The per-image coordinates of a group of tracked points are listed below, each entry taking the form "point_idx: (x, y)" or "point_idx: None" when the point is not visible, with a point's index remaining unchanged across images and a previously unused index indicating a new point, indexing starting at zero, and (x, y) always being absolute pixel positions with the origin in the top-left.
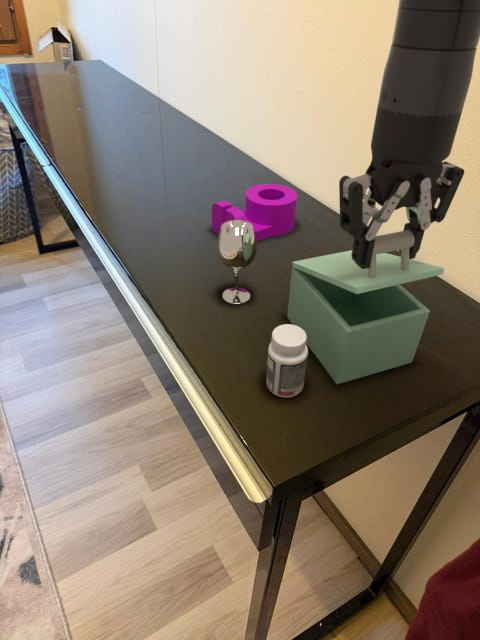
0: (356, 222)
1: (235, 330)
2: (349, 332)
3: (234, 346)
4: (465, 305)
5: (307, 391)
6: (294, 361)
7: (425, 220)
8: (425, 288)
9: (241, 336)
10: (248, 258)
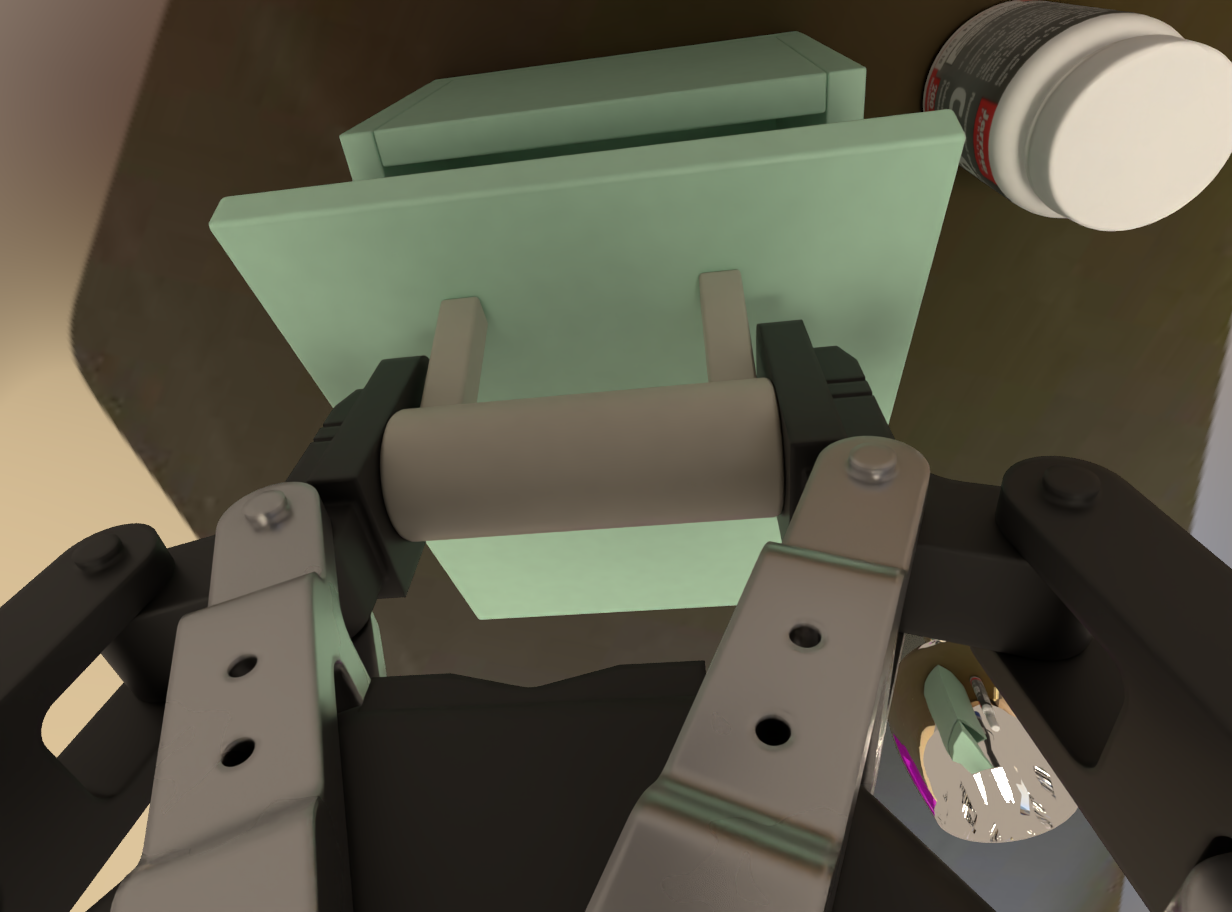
0: (1172, 572)
1: (1002, 409)
2: (854, 68)
3: (1053, 334)
4: (99, 343)
5: (931, 23)
6: (1134, 17)
7: (266, 544)
8: (227, 459)
9: (999, 376)
10: (958, 662)
